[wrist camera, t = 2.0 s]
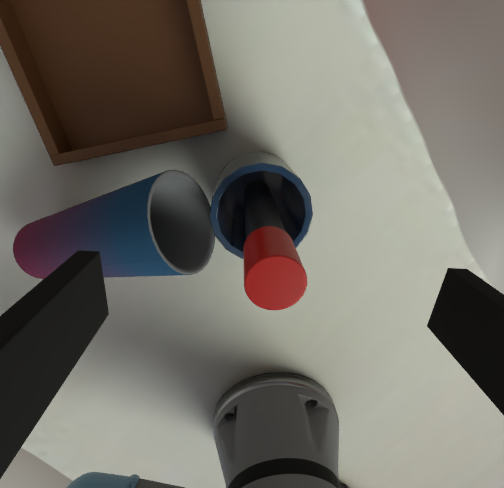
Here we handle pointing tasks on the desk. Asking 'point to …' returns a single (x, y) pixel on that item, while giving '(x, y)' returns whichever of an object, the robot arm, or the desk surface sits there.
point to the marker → (269, 253)
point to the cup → (127, 231)
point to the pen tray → (112, 73)
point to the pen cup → (281, 188)
